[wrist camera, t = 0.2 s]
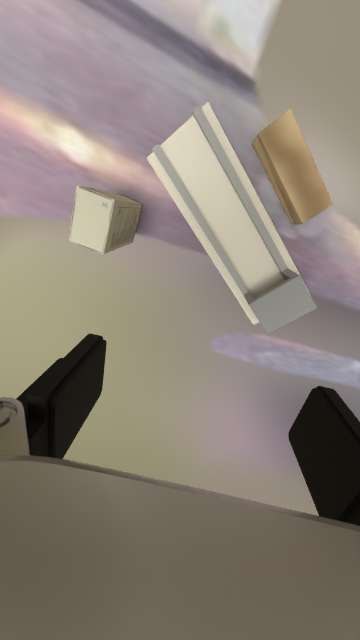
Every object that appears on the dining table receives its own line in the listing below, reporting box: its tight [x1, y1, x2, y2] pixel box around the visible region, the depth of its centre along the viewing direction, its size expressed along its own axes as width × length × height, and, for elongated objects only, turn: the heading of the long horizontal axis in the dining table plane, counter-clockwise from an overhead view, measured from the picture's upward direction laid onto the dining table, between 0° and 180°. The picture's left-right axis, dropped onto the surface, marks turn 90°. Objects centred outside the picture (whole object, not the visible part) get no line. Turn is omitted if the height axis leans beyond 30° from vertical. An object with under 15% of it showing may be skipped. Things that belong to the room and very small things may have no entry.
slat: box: [252, 108, 333, 224], centre depth 31 cm, size 4×12×4 cm, turn 35°
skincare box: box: [69, 186, 142, 254], centre depth 31 cm, size 6×4×12 cm
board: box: [147, 102, 317, 334], centre depth 33 cm, size 10×30×7 cm, turn 35°
